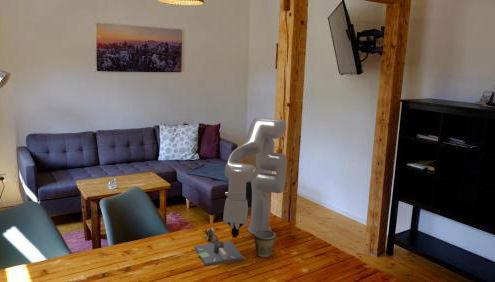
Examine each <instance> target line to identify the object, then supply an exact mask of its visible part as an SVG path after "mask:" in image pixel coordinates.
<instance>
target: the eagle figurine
mask: <svg viewBox="0 0 495 282" xmlns="http://www.w3.org/2000/svg"><path fill="white" fill-rule="evenodd" d="M200 230H201V231H202V232H203V233H204V234H206V239H205V241H206V242H207V241H208V240H209V239H211V242H210V244H211V243H214V242H216V241H219V238H218V236H217V235H215V234H214V233H215V229H214V228H213V227H210V228H209V229H208V230H207V229H206V228H205V229H204V230H203V229H200Z"/></svg>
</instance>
